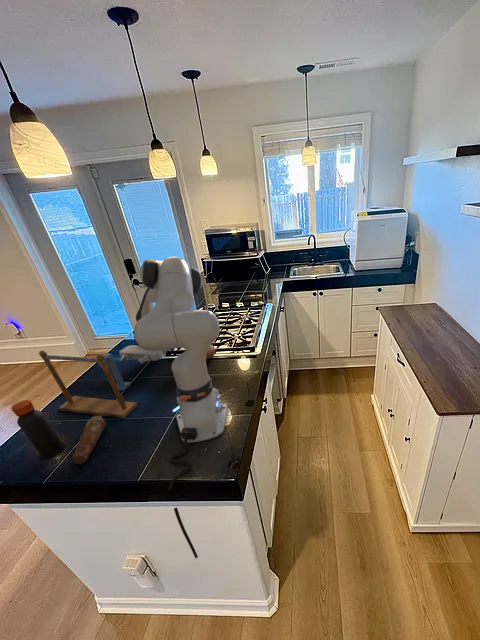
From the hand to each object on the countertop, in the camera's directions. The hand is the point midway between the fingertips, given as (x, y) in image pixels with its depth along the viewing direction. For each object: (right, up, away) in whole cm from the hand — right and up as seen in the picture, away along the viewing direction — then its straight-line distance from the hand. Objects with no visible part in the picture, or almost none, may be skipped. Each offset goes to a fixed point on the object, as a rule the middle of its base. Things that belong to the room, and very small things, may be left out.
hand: (130, 361), depth 140 cm
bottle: (-9, -33, -34) cm, 48 cm away
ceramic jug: (+28, +3, +15) cm, 32 cm away
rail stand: (-5, -20, -15) cm, 25 cm away
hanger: (-2, -12, -4) cm, 13 cm away
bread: (+4, -31, -33) cm, 45 cm away
